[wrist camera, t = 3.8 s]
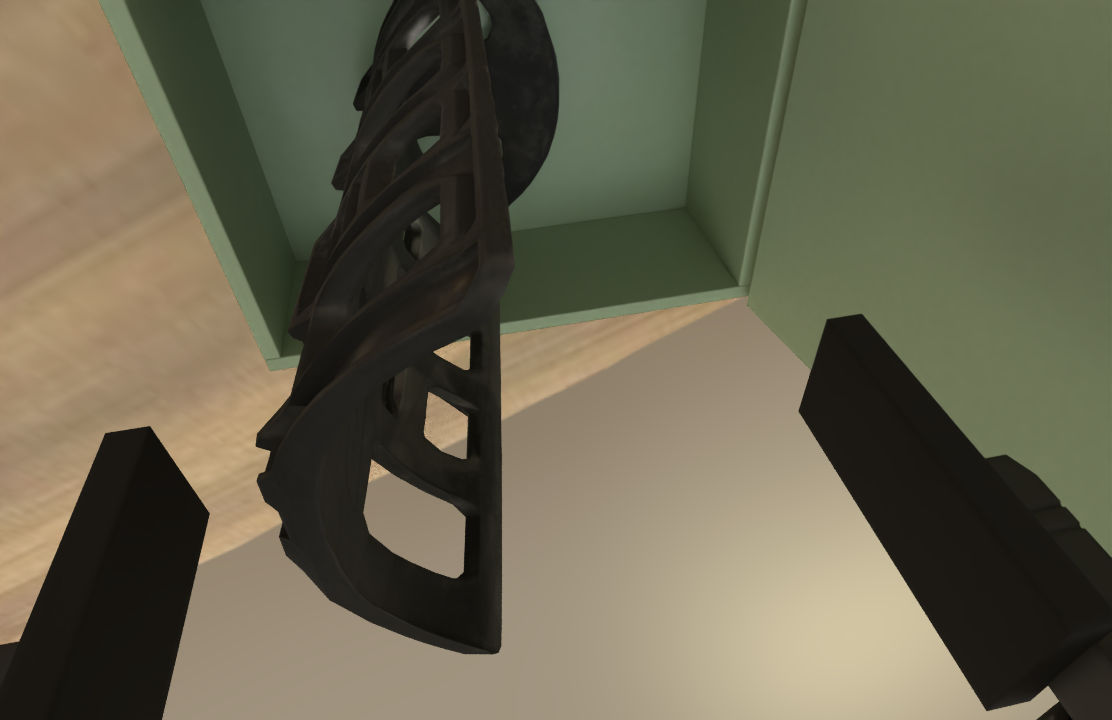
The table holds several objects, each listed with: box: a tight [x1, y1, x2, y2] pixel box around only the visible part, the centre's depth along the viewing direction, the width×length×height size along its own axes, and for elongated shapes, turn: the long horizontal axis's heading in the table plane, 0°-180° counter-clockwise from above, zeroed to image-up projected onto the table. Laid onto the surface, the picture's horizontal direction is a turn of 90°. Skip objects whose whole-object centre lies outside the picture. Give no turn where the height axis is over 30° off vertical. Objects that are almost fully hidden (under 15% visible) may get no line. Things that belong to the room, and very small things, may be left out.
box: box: [99, 0, 808, 371], centre depth 24 cm, size 19×14×7 cm
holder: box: [256, 0, 559, 654], centre depth 19 cm, size 11×8×20 cm
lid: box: [747, 0, 1112, 557], centre depth 15 cm, size 20×14×1 cm
